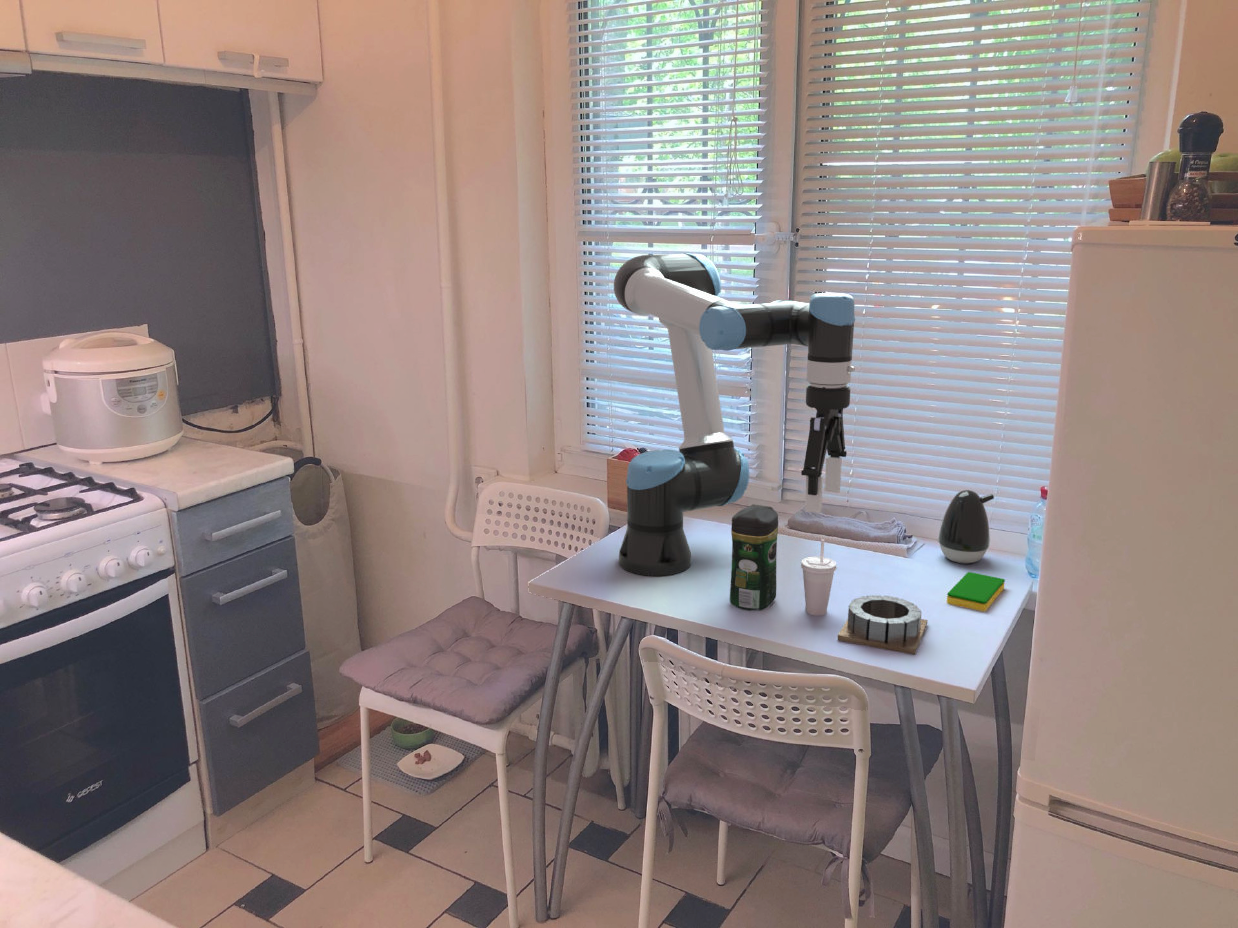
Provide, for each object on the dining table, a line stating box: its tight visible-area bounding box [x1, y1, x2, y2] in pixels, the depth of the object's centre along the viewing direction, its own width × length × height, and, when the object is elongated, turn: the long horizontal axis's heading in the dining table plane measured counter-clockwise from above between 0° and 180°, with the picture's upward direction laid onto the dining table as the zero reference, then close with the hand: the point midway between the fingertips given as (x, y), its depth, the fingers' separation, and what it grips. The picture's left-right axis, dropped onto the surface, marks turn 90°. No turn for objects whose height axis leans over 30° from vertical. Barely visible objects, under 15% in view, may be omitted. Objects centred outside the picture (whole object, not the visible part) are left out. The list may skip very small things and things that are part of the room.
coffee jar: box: [729, 504, 779, 612], centre depth 180 cm, size 10×8×19 cm
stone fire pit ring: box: [837, 594, 929, 656], centre depth 169 cm, size 13×13×4 cm
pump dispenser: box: [937, 489, 995, 564], centre depth 202 cm, size 10×10×15 cm
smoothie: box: [800, 538, 837, 616], centre depth 177 cm, size 6×6×14 cm
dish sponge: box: [946, 571, 1006, 612], centre depth 185 cm, size 7×14×2 cm, turn 145°
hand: (822, 501), depth 173 cm, fingers open, 13 cm apart
